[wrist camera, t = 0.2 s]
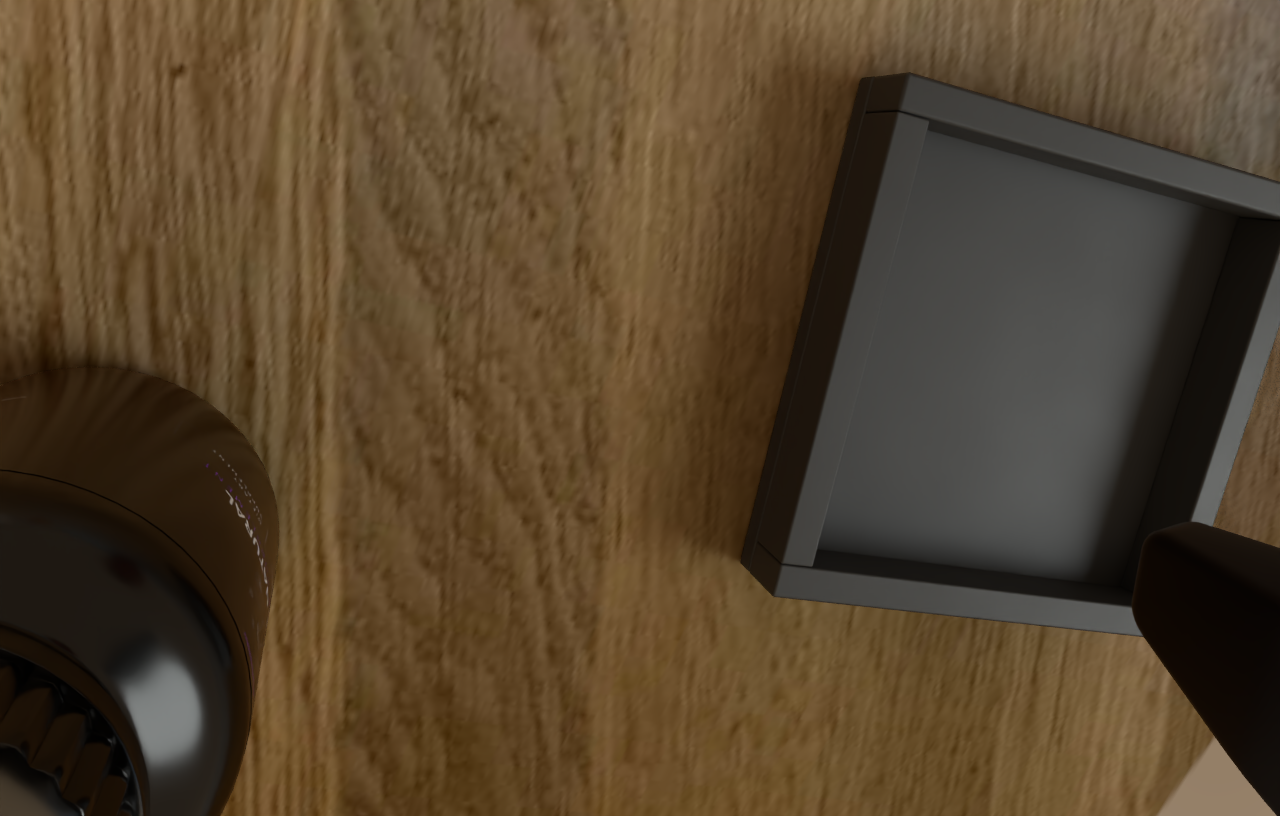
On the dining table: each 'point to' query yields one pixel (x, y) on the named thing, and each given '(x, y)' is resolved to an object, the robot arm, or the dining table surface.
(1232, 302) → the black tray
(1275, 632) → the robot arm
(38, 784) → the supplement bottle
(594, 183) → the dining table surface
